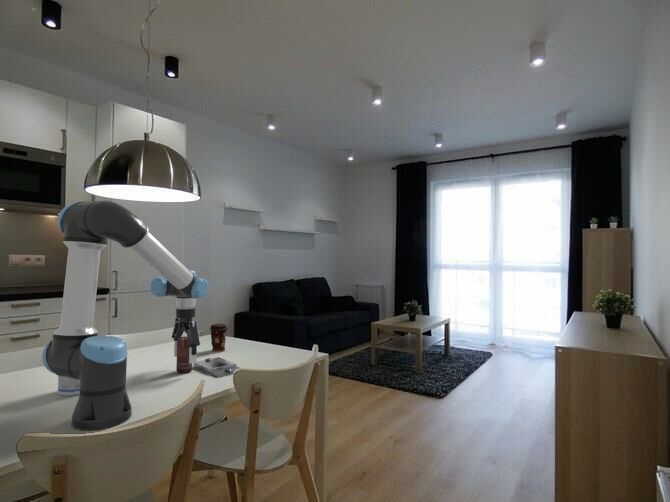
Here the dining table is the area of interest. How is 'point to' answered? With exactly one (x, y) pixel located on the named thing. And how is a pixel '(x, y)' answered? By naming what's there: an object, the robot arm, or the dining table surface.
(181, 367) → the can
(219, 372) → the link plate lower
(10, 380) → the dining table surface
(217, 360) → the link plate upper
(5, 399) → the dining table surface
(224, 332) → the coffee cup
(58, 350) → the robot arm
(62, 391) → the supplement tub
